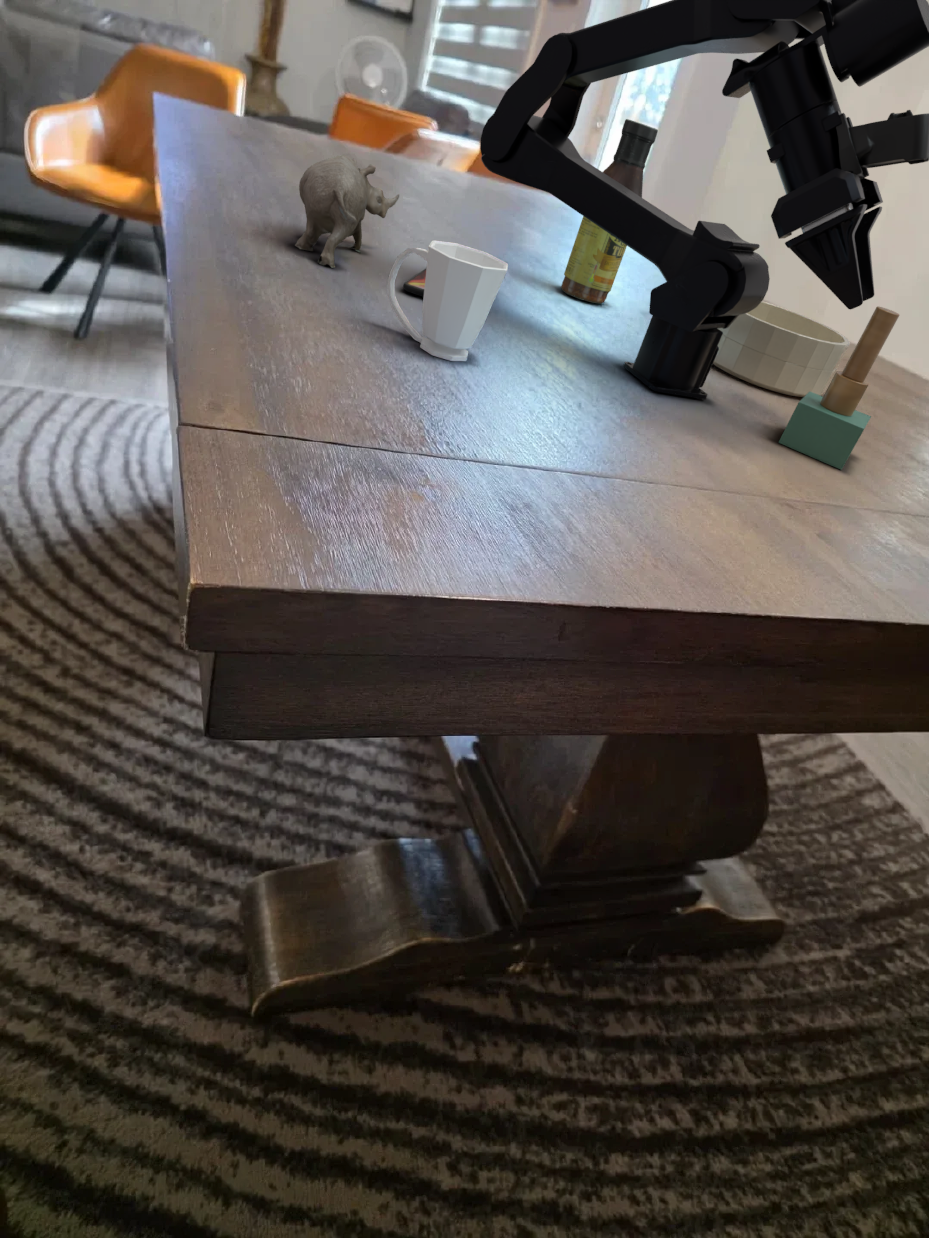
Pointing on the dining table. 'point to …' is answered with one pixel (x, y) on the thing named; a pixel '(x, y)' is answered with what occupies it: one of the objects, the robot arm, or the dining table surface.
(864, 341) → the wooden peg
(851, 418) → the stand
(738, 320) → the bowl
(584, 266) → the sauce bottle
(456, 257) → the cup
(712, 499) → the dining table surface
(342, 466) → the dining table surface
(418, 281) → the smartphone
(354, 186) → the rhinoceros figurine
